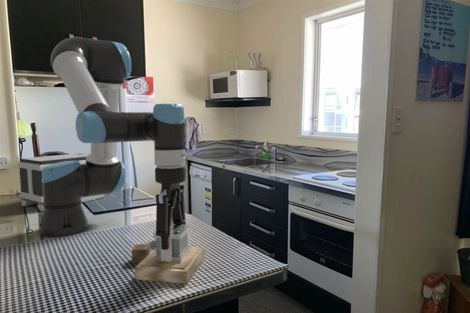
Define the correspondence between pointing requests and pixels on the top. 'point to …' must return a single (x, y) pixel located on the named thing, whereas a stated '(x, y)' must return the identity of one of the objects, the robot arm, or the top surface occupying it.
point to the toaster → (33, 177)
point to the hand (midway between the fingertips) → (172, 254)
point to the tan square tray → (170, 267)
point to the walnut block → (140, 252)
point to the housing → (175, 243)
